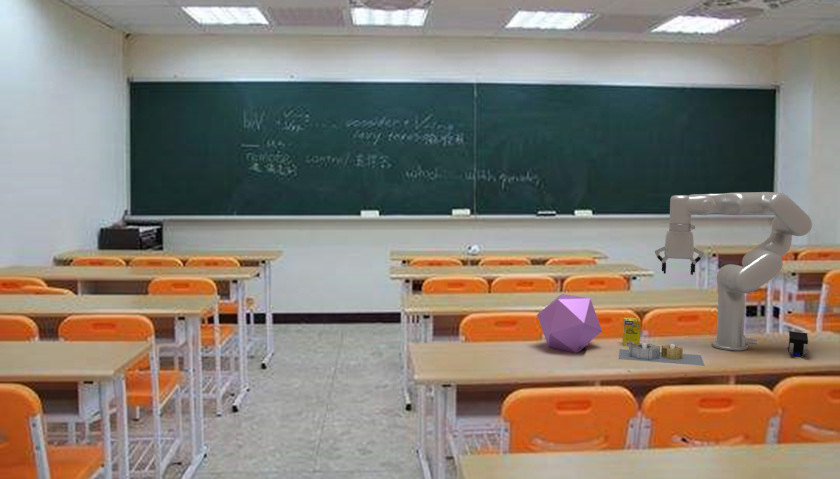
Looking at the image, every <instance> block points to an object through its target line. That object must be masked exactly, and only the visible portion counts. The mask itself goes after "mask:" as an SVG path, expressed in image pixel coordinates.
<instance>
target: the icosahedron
mask: <svg viewBox="0 0 840 479" xmlns="http://www.w3.org/2000/svg"><path fill="white" fill-rule="evenodd" d="M594 307H595V306H594V304H593V302H592V299H591V298H590V297H586V296H585V297H584V296H577V295H570V294H564V293H561V294H559V296H557V297H556V298H555V299H554V300H553V301H551V302H550V303H549V304H547V306H545V307H544V309H542V310H541V311H539V313H537V314H536V316H537V318H538V322H539V324H540V328H541V330H542V333H543V335H544V337H545V338H544V339H545V341H546V344H547V347H548V348H551V349H556V350H561V351H565V352H570V353H575V354H578V353H579V352H581V350H583V349H584V348H585V347H587V345H588V344H590V343H591V342H592V341H593V340H594V339H595V338H596V337H597V336H599V334H601V333H602V332H603V330H602V327H601V324H600V321H599V318H598V315H597V313H596V310H595V308H594Z"/></svg>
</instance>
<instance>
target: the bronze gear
mask: <svg viewBox="0 0 840 479" xmlns="http://www.w3.org/2000/svg"><path fill="white" fill-rule="evenodd" d="M683 350H684V349H683V346H678V345H675V348H670V344H666V345H661V350H660V352H661V357H664V358H667V359H675V360H677V359H682V356H683V354H684V353H683V352H684V351H683Z"/></svg>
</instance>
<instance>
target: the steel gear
mask: <svg viewBox="0 0 840 479" xmlns="http://www.w3.org/2000/svg"><path fill="white" fill-rule="evenodd" d="M646 344H647V348H642V342H640V343H636V344H629V346H628V350H629V356H630V357H634V358H637V359H648V360H652V359H659V358H660V352H661V349H660V347H661V346H660V345H655V344H652V343H646Z"/></svg>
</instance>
